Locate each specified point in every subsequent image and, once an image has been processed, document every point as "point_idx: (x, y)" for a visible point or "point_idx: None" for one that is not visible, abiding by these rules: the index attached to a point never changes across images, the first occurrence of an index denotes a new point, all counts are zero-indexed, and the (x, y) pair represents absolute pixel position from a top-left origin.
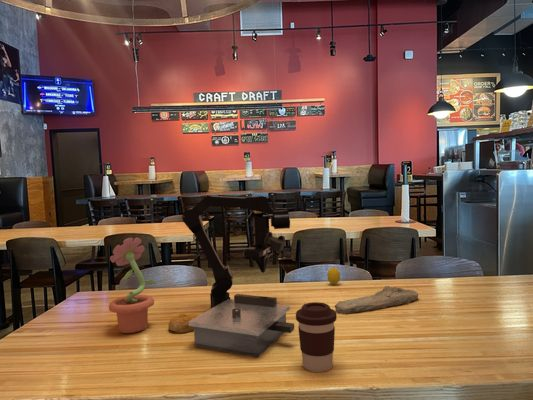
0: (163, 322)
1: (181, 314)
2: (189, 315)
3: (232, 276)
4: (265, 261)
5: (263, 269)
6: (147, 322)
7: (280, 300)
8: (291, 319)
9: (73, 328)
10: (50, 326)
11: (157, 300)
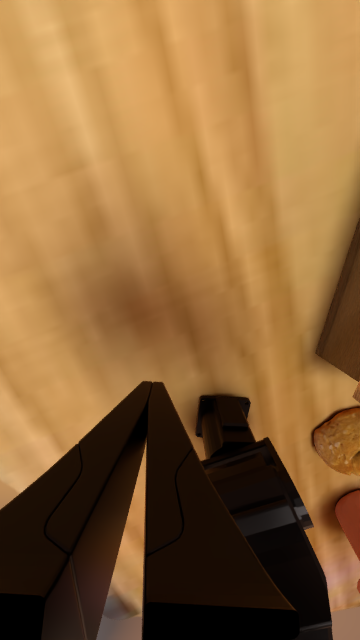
0: (318, 479)
1: (352, 470)
2: (354, 452)
3: (266, 513)
4: (154, 486)
5: (169, 403)
6: (356, 502)
7: (77, 284)
8: (271, 165)
9: (350, 568)
10: (341, 591)
11: None
